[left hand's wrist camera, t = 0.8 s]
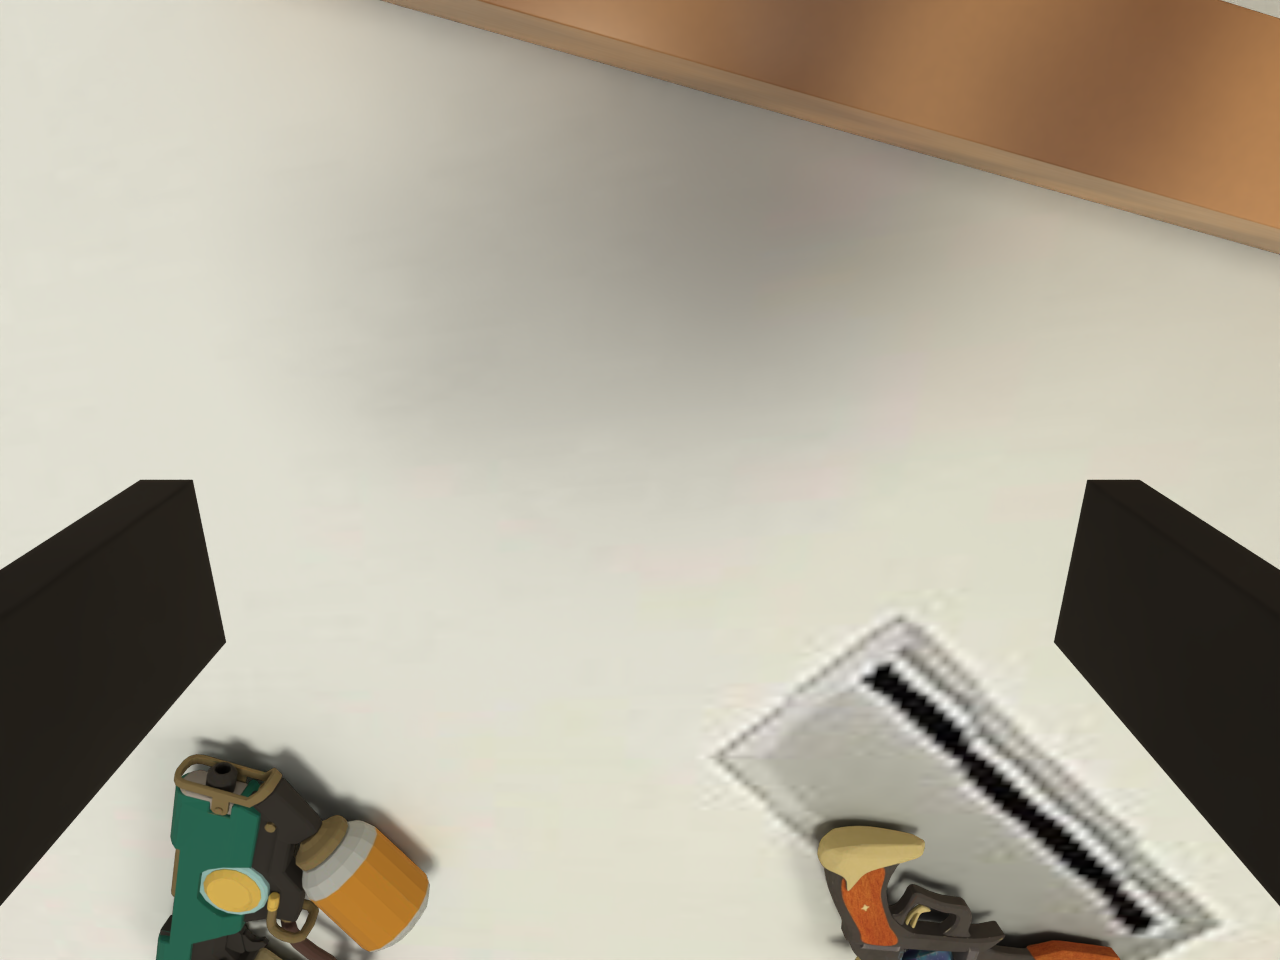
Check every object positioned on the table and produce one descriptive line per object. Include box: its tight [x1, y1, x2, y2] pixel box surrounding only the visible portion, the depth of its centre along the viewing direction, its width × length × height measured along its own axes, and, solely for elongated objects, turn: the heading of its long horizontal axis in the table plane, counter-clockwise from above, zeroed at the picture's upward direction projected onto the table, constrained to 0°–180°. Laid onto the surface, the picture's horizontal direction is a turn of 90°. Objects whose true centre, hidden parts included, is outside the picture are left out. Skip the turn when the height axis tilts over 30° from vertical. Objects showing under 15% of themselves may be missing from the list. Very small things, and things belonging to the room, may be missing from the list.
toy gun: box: [817, 826, 1120, 960], centre depth 44 cm, size 3×19×10 cm
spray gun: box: [156, 754, 430, 960], centre depth 43 cm, size 4×17×15 cm
